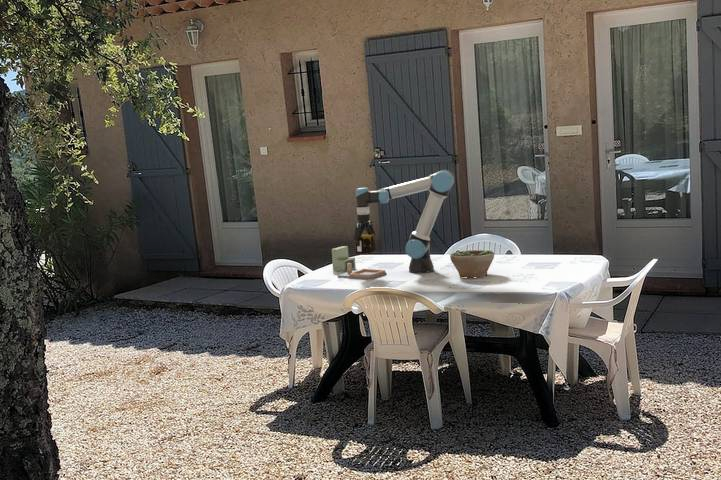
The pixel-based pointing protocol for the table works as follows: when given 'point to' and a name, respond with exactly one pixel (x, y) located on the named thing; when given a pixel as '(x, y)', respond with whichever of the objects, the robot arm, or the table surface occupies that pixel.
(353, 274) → the pin board
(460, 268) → the planter
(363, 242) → the candle
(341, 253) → the feeder
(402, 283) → the table surface
